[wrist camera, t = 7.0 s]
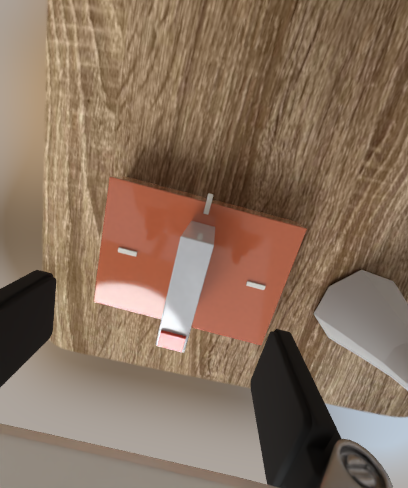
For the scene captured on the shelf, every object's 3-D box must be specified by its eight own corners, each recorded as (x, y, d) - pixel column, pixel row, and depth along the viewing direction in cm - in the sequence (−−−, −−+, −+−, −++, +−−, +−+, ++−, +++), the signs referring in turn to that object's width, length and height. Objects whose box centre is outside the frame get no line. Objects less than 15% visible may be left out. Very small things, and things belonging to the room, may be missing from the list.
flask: (419, 304, 20) (603, 420, 10) (354, 356, 22) (459, 495, 12) (360, 254, 19) (500, 330, 10) (297, 313, 21) (363, 426, 11)
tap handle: (190, 220, 16) (179, 237, 12) (215, 226, 16) (214, 245, 12) (170, 305, 18) (154, 348, 14) (192, 311, 18) (183, 356, 14)
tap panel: (109, 291, 22) (91, 309, 19) (127, 168, 19) (109, 167, 16) (254, 328, 22) (259, 353, 19) (296, 213, 19) (311, 220, 16)
